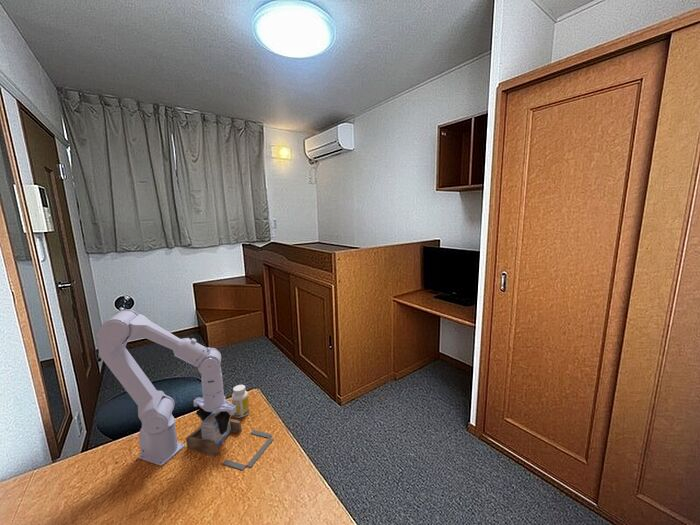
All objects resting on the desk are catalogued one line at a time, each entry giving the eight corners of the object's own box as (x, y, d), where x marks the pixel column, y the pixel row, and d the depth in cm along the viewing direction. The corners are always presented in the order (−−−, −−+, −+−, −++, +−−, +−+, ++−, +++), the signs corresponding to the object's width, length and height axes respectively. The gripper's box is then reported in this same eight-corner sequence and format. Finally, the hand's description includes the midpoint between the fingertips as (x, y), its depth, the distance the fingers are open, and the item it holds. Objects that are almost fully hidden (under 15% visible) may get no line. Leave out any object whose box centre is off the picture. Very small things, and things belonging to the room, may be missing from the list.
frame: (222, 464, 84) (222, 463, 84) (253, 430, 97) (253, 429, 97) (247, 472, 82) (247, 471, 81) (276, 436, 95) (276, 435, 95)
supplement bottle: (248, 406, 109) (246, 382, 108) (250, 415, 105) (248, 390, 103) (232, 410, 107) (230, 385, 106) (233, 420, 102) (231, 393, 101)
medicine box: (215, 450, 89) (213, 424, 88) (202, 448, 90) (200, 422, 89) (231, 432, 97) (229, 407, 95) (219, 430, 98) (217, 406, 96)
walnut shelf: (187, 448, 90) (186, 438, 90) (214, 424, 101) (214, 414, 100) (215, 457, 87) (214, 446, 86) (241, 431, 97) (240, 421, 97)
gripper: (241, 386, 92) (244, 426, 94) (204, 379, 97) (208, 417, 99) (225, 400, 86) (229, 442, 88) (186, 391, 90) (190, 431, 92)
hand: (216, 430), depth 93 cm, fingers closed on medicine box, 5 cm apart
